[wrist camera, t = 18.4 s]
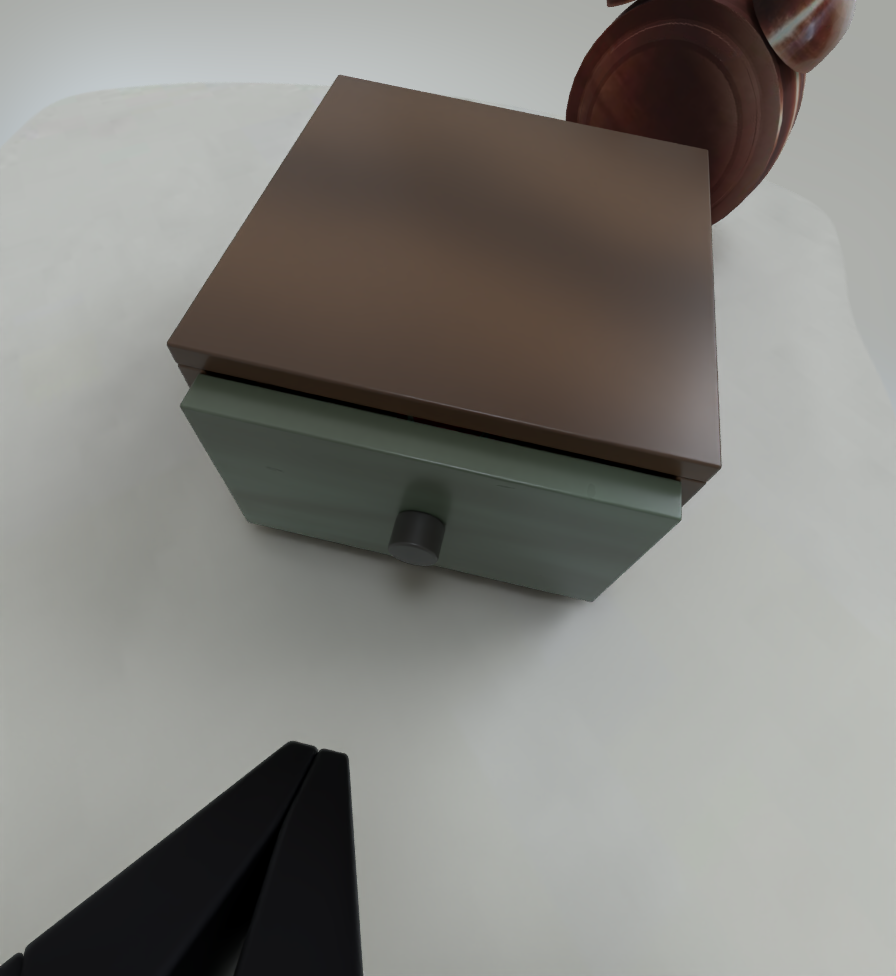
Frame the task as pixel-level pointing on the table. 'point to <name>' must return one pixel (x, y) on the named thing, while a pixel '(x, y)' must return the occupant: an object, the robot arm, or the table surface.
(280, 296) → the cabinet
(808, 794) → the table surface
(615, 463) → the drawer
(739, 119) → the alarm clock
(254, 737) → the table surface
